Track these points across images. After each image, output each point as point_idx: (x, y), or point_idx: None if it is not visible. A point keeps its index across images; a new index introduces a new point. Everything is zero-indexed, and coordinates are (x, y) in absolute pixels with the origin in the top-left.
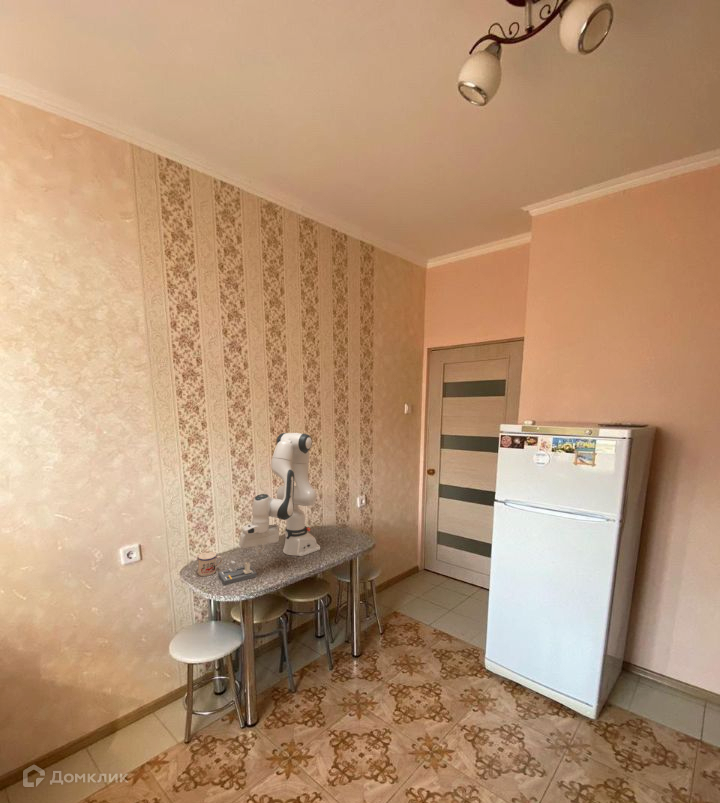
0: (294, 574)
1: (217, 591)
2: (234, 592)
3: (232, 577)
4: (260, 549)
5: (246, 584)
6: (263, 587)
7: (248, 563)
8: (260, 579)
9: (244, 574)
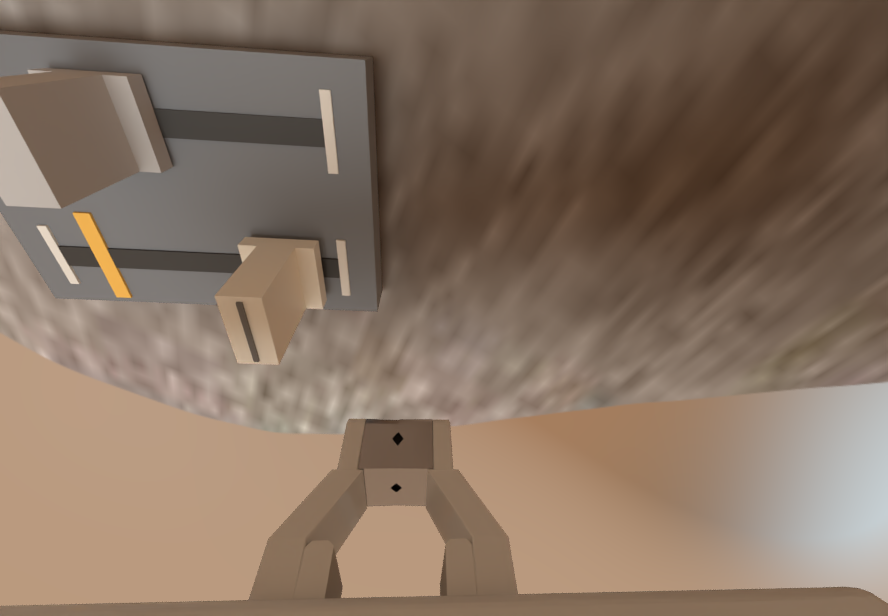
0: (637, 393)
1: (48, 332)
2: (186, 393)
3: (133, 274)
4: (425, 481)
5: None
6: None
7: (262, 345)
8: (398, 339)
9: None
